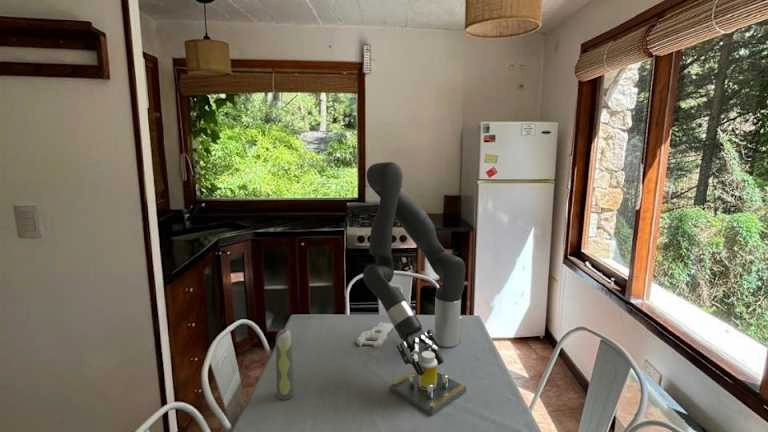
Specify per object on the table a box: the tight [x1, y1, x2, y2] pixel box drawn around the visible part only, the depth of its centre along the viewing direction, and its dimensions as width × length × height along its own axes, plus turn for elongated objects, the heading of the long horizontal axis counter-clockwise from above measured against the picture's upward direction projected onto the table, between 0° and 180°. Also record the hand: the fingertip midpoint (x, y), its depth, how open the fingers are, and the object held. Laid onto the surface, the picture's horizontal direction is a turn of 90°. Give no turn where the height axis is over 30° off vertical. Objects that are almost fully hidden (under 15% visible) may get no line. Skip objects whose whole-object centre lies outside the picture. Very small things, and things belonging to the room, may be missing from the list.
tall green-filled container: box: [275, 328, 295, 401], centre depth 117 cm, size 5×5×20 cm
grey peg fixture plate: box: [389, 370, 467, 416], centre depth 121 cm, size 16×16×5 cm
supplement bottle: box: [418, 350, 438, 391], centre depth 121 cm, size 6×6×10 cm
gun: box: [355, 321, 395, 348], centre depth 155 cm, size 18×4×10 cm
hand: (432, 368), depth 119 cm, fingers open, 8 cm apart
